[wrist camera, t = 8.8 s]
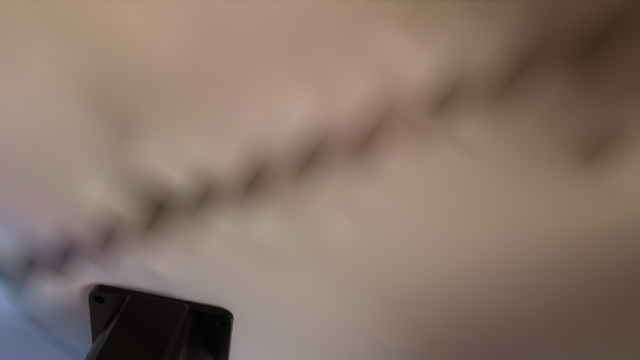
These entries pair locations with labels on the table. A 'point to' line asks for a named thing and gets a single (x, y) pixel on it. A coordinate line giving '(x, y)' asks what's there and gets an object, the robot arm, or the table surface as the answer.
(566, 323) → the table surface
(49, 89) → the table surface
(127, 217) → the table surface
